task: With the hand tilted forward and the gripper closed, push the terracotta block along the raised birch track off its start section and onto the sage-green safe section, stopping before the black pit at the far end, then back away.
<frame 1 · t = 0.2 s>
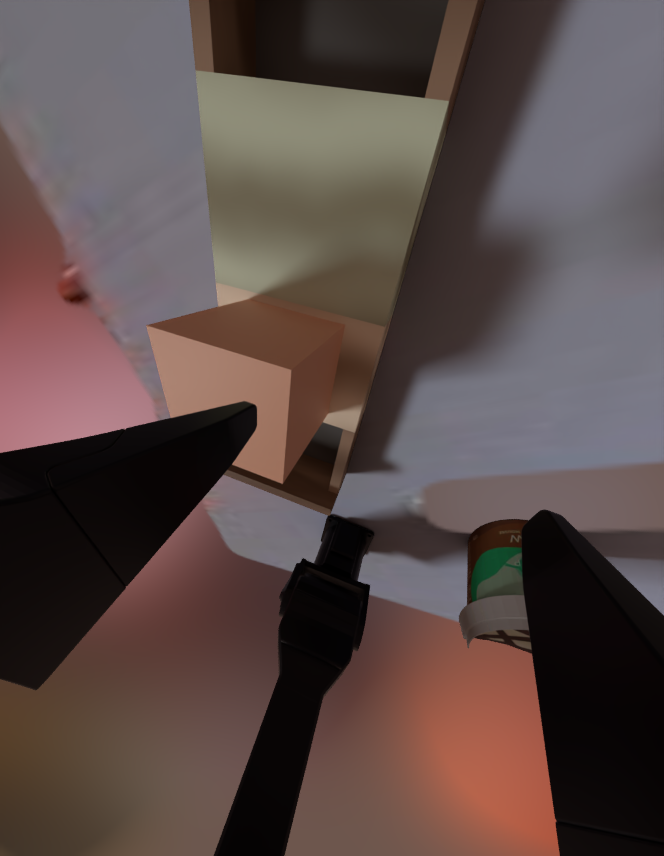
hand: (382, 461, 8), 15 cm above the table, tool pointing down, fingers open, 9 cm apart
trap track: (317, 295, 20), on the table
terracotta block: (291, 360, 19), point 4 cm above the table, touching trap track
food container: (516, 530, 27), on the table
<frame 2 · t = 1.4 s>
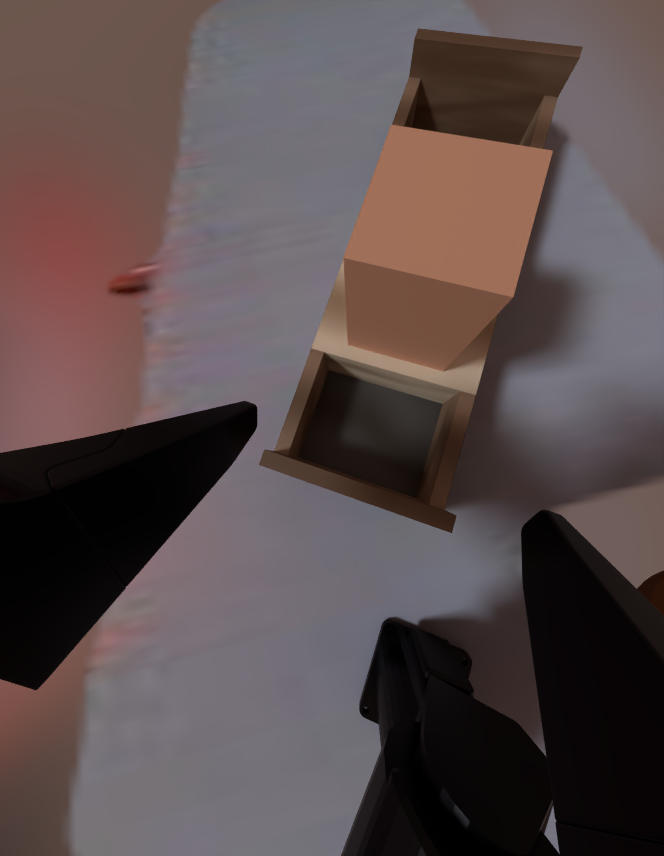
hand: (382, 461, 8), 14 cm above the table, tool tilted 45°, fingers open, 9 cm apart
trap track: (411, 300, 23), on the table
terracotta block: (408, 314, 19), point 4 cm above the table, touching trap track
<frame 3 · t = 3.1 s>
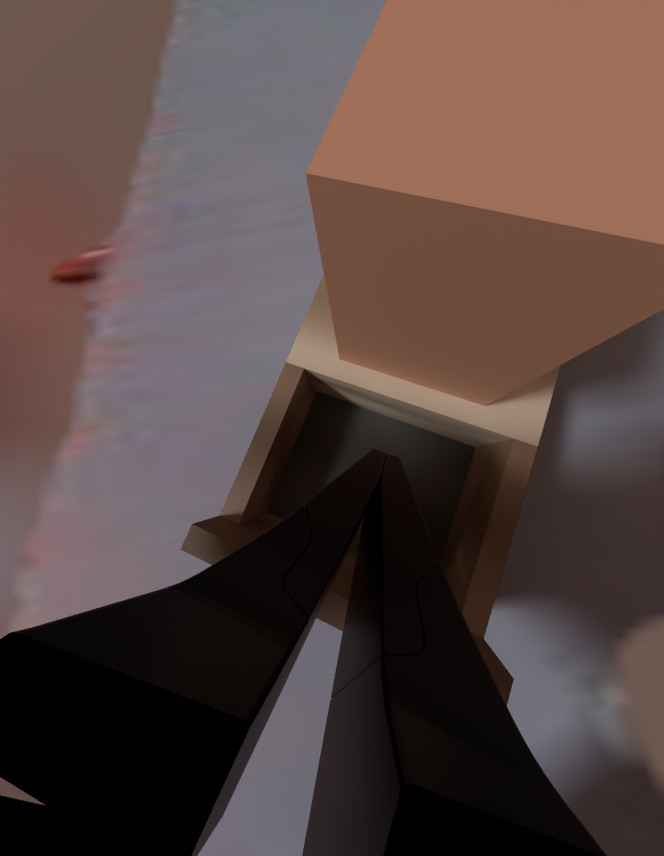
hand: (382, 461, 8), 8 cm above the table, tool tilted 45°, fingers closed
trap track: (434, 300, 17), on the table
terracotta block: (432, 316, 13), point 4 cm above the table, touching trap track
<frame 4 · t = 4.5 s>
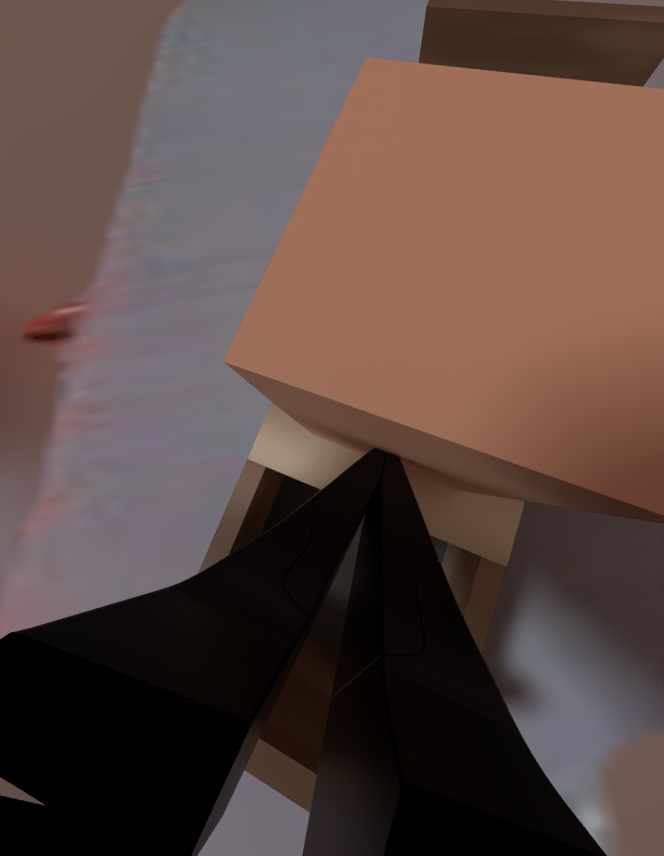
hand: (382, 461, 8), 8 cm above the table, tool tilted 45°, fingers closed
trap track: (411, 371, 16), on the table
terracotta block: (407, 391, 12), point 4 cm above the table
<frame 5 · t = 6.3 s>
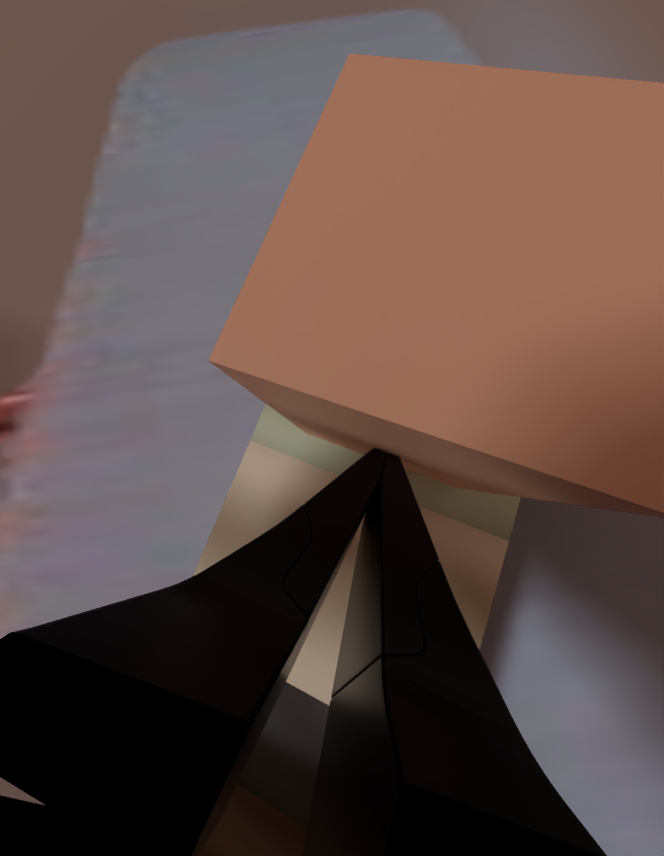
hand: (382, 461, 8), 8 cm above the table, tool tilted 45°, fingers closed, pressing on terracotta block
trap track: (366, 483, 15), on the table
terracotta block: (401, 388, 12), point 4 cm above the table, touching gripper, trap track
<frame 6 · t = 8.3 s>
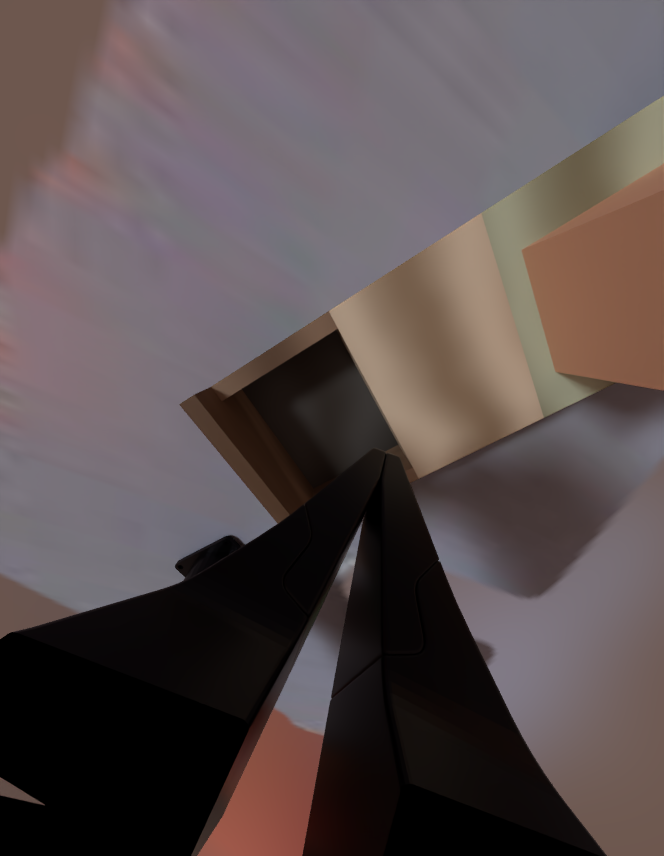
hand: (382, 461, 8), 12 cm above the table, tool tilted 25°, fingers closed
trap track: (477, 329, 18), on the table
terracotta block: (606, 278, 13), point 4 cm above the table, touching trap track
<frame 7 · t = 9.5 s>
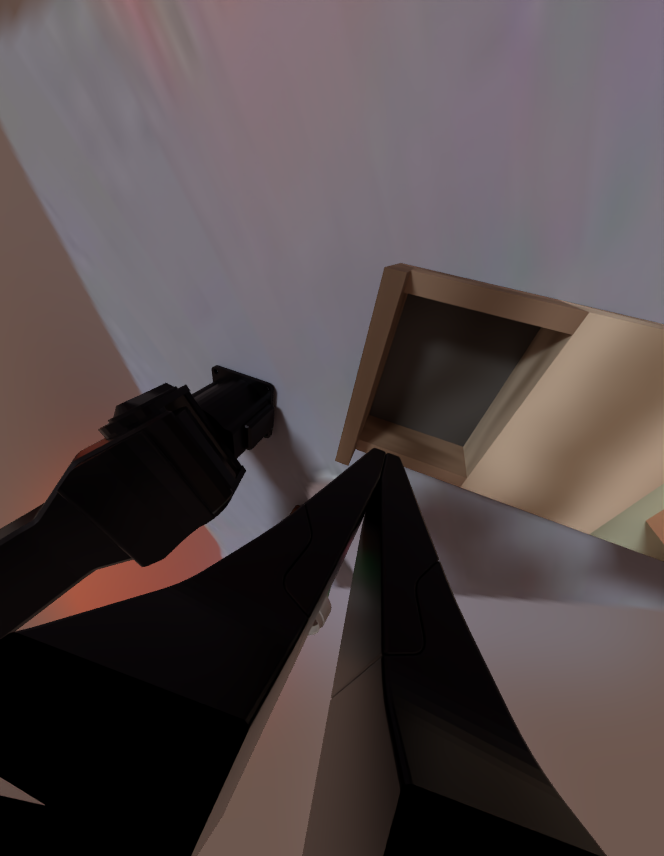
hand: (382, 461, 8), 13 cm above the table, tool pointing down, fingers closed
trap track: (632, 432, 17), on the table
food container: (328, 529, 34), on the table
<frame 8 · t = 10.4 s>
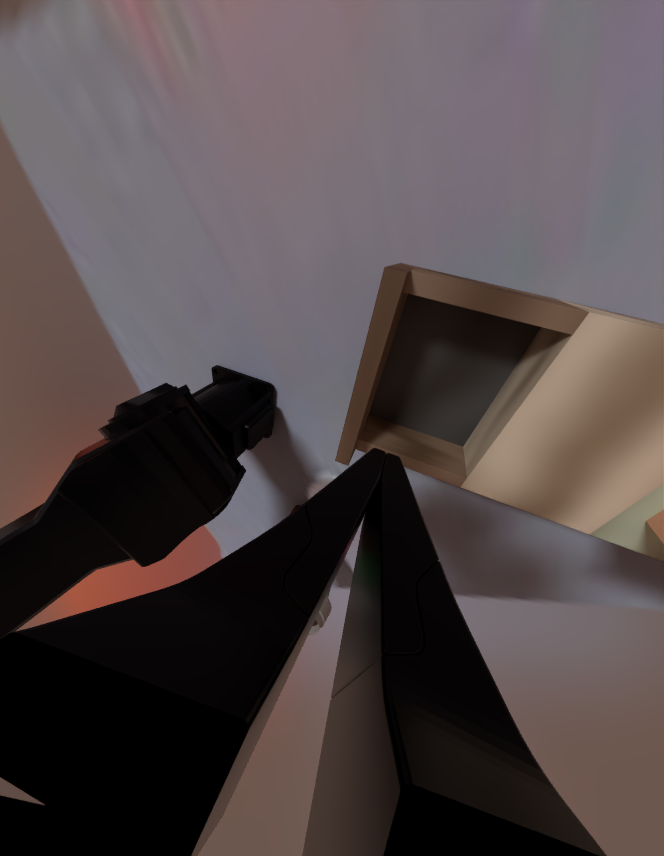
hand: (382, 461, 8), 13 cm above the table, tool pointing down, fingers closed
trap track: (633, 432, 17), on the table
food container: (328, 529, 34), on the table
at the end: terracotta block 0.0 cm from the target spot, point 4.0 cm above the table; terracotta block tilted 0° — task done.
